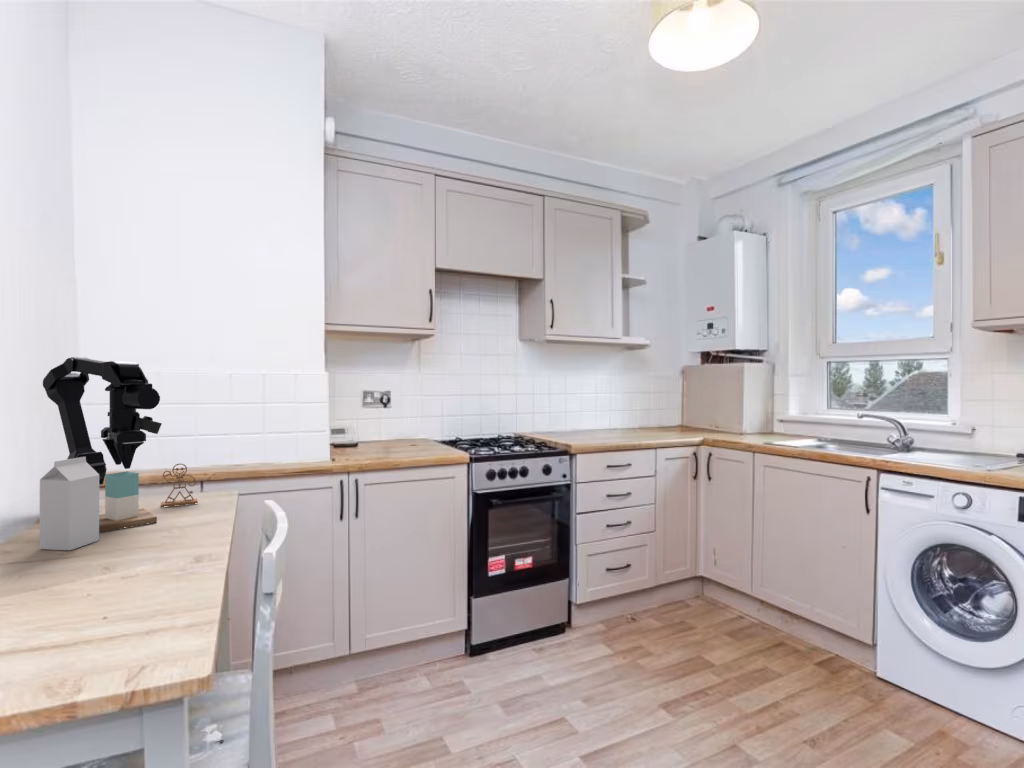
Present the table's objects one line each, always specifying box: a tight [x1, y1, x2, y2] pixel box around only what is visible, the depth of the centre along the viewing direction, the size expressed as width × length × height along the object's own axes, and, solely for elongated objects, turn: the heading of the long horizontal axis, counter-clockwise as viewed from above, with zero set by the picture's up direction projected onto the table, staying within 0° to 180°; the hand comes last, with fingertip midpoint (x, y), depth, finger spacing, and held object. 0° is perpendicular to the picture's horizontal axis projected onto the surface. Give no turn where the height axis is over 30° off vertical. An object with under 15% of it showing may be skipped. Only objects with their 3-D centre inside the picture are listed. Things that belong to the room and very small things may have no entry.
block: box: [104, 470, 140, 521], centre depth 130 cm, size 5×5×11 cm
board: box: [99, 508, 158, 533], centre depth 131 cm, size 12×12×2 cm
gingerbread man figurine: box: [160, 462, 199, 508], centre depth 150 cm, size 9×4×12 cm, turn 124°
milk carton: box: [39, 457, 100, 551], centre depth 113 cm, size 7×7×19 cm
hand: (122, 466), depth 138 cm, fingers open, 9 cm apart
